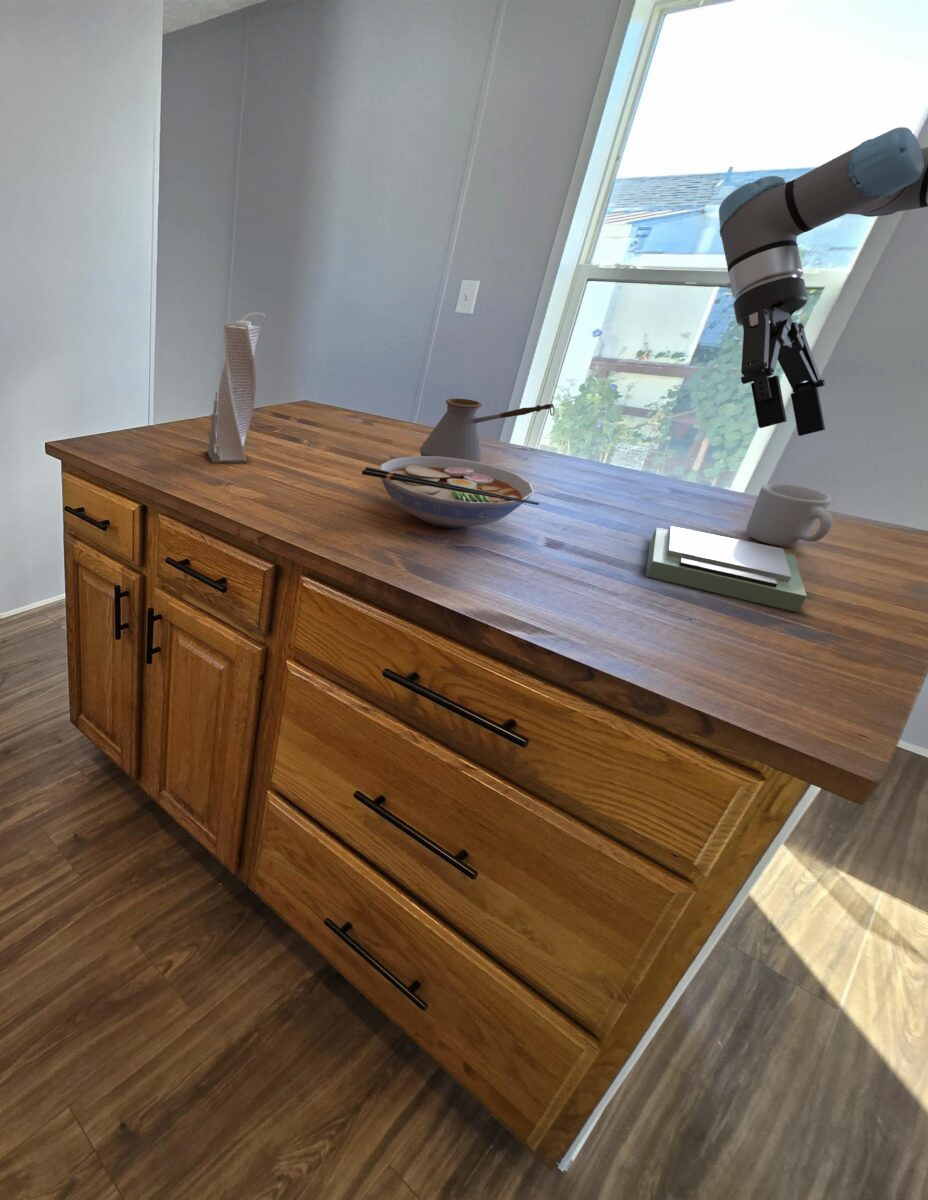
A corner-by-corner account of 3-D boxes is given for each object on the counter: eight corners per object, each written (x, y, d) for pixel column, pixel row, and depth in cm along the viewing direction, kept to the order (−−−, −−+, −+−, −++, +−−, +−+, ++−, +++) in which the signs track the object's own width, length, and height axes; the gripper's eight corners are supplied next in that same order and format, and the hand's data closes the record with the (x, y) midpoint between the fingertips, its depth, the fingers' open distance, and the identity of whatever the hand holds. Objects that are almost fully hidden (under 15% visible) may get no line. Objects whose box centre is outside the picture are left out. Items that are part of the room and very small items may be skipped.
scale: (785, 570, 93) (796, 550, 92) (797, 612, 83) (810, 590, 81) (650, 541, 102) (658, 522, 100) (645, 576, 91) (654, 555, 90)
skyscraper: (245, 452, 140) (260, 309, 126) (254, 464, 133) (271, 314, 119) (206, 452, 139) (217, 309, 125) (213, 464, 132) (225, 314, 118)
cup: (836, 559, 97) (867, 509, 93) (783, 559, 97) (811, 508, 93) (773, 530, 106) (799, 483, 102) (724, 529, 106) (748, 482, 102)
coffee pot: (407, 465, 133) (425, 390, 125) (430, 454, 140) (448, 381, 133) (520, 492, 120) (547, 410, 113) (538, 478, 127) (565, 399, 120)
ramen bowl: (534, 515, 111) (550, 468, 107) (518, 564, 94) (536, 511, 90) (384, 485, 122) (393, 442, 118) (346, 524, 106) (355, 476, 102)
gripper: (769, 316, 105) (793, 443, 103) (695, 287, 94) (719, 430, 92) (835, 291, 99) (861, 427, 97) (763, 256, 87) (792, 410, 85)
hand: (792, 429), depth 94 cm, fingers open, 13 cm apart
